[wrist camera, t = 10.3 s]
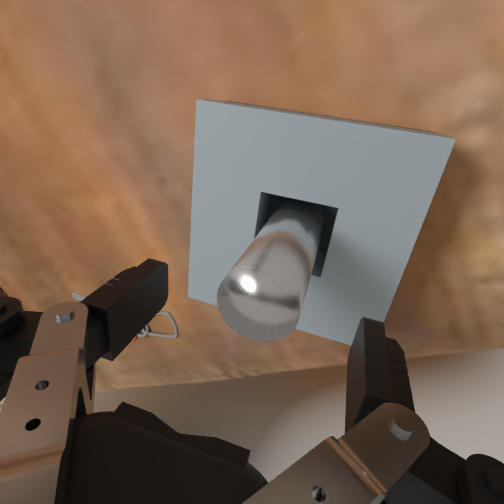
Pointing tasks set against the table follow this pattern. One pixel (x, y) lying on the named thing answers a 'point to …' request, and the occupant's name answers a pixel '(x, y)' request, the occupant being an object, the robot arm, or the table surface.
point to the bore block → (316, 191)
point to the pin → (273, 273)
